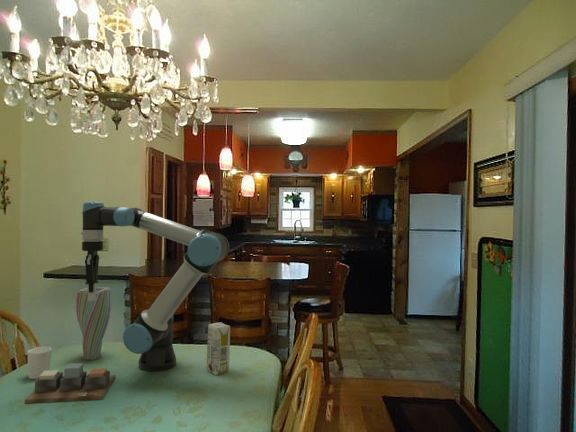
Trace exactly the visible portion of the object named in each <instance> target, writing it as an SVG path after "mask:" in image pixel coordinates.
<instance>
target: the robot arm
mask: <svg viewBox="0 0 576 432" xmlns="http://www.w3.org/2000/svg"><path fill="white" fill-rule="evenodd" d="M81 215H82V231H81V232H80V235H82V237H81V239H82V240H83V241H82V242H81V250H82V251H84V252H87V254H86V255H85V259H84V263H85V265H84V266H85V279H86V280H85V285H87V288H88V301H94V300H96V287H97V284H99V280H98V275H99V265H100V264H99V263H100V258H101V257H100V255H99V254H98V252H100V251H103V250H104V242H103V240H104V226H105V227H107V226H108V227H121V228H122V227H134V228H137V229H139V230H140V229H141V230H143V231H145V232H148V233H151V234H154V235H157V236H159V237H162V238H165V239H168V240H170V241H174V242H177V243H179V244H183V245H185V246H187V251H186V252H185V254H184V255H183V263H182V264H181V266H180V267H179V268H178V270H177V271H176V272H175V274H174V275H173V276H172V277H171V279H170V280H169V281H168V283H167V284H166V286H165V287H164V289H162V292H160V294H159V295H158V296H157V298H156V299H155V301H153V303H152V304H151V306H150V307H149V308H148V309H144V310H142V311H141V313H140V314H139V315H138V317H136V319H135V320H134V322H133V323H130V324H129V325H128V326H126V328H125V329H124V330H123V334H122V340H123V345H124V346H125V348H126V349H127V351H129V352H131V353H132V354H136V355H140V356H139V359H138V364H137V365H138V368H139V369H140V370H142V371H148V372H159V371H166V370H169V369H171V368H173V367H175V366H176V364H177V357H176V353H175V351H174V347H173V338H174V337H173V335H174V334H173V333H174V332H173V331H174V319H175V318H174V313H175V312H176V311H177V309H178V308H179V307H180V306H181V304H182V303H183V302H184V301H185V299H186V298H187V296H188V295H189V294H190V292H191V291H192V289H193V288H194V287H195V286H196V284H197V283H198V282H199V280H200V279H201V278H202V276H205V275H209V274H210V272H211V271H212V270H213V269H214V268H215V266H216V264H217V263H218V262H221V261H222V260H224V259H225V258H226V257H228V254H229V251H230V244H229V241H228V239H227V237H225V236H224V235H223V234H221V233H220V232H219V233H218V232H213V231H210V230H206V229H202V230H200V229H196V228H193V227H191V226H190V227H189V226H187V225H184V224H181V223H178V222H176V221H173V220H170V219H167V218H165V217H161V216H159V215H156V214H153V213H150V212H147V211H145V210H143V209H142V208H138V207H128V206H126V207H125V206H105V204H104V202H101V201H85V202H83V203H82V214H81Z"/></svg>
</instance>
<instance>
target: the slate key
mask: <svg viewBox="0 0 576 432" xmlns="http://www.w3.org/2000/svg"><path fill="white" fill-rule="evenodd" d="M83 372H84V362H82V363H80V362H78V363H68V364H67V365H66V366H65V367H64V371H63V376H64V379H69V378H80V377H81V376H82V374H83Z"/></svg>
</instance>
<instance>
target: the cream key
mask: <svg viewBox="0 0 576 432" xmlns="http://www.w3.org/2000/svg"><path fill="white" fill-rule="evenodd" d="M59 373H60V370H59V369H55V370H53V369H51V370H50V369H49V371H44V372H43V373H42V374H41V375H40V376H39V380H45V379H55V378H56V377H57V376H58V375H59Z"/></svg>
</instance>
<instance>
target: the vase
mask: <svg viewBox="0 0 576 432" xmlns="http://www.w3.org/2000/svg"><path fill="white" fill-rule="evenodd" d="M111 310H112V289H111V288H110V287H103V286H102V287H101V286H100V287H99V286H96V300H94V301H88V287H85V288H82V289H79V290H78V291H76V298H75V312H76V313H75V314H76V318H77V322H78V325H79V328H80V332H81V334H82V353H83V360H90V361H91V360H92V361H93V360H94V361H95V360H96V359H98V358H99V357H100V356H101V352H102V344H103V339H104V337H105V335H106V331H107V328H108V325H109V321H110V317H111Z"/></svg>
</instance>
